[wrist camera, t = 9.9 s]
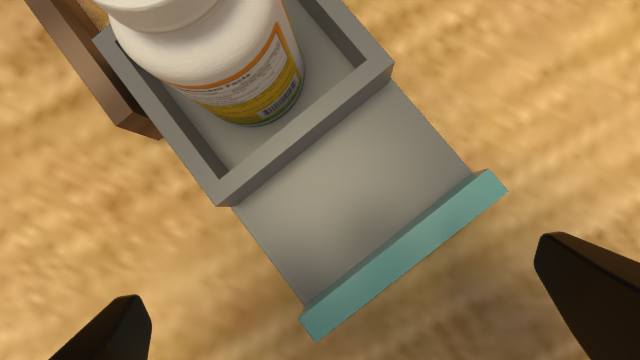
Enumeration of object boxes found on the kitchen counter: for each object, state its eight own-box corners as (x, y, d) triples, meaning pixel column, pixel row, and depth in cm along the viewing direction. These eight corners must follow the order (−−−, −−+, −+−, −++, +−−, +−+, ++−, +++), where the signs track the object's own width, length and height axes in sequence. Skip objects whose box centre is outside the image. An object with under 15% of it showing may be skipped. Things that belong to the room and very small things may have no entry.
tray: (482, 193, 18) (513, 191, 14) (322, 320, 18) (314, 347, 14) (276, -47, 20) (258, -101, 16) (134, 71, 20) (87, 42, 16)
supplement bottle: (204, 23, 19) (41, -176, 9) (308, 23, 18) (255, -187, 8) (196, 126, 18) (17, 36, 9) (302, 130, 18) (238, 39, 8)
